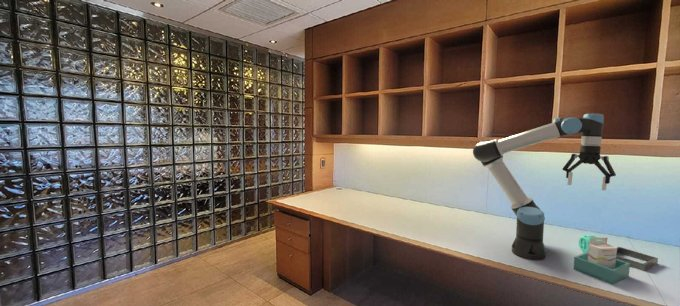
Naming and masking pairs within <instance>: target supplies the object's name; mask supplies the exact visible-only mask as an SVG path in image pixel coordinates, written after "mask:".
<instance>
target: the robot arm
mask: <svg viewBox="0 0 680 306" xmlns="http://www.w3.org/2000/svg"><path fill="white" fill-rule="evenodd" d="M604 117H605V116H604V114H602V113H585V114H583V117H574V116H571V117H570V116H569V117H555V118H553V121H552V123H547V124H544V125H541V126H539V127H536V128H531V129H529V130H526V131H524V132H520V133H517V134H514V135H510V136H508V137H505V138H501V139H496V138H495V139H491V140H489V139H485V140H481V141H479V142H478V143H476V144H475V146H473V148H472V149H473V150H472V154H473V156H474V158H475V159H476V160H477V161H479V162H480V163H481V165H482V166H483V167H485V168H488V170H489V171H490V173H491V175H492V176H493V178H494V179H495V181H496V182H497V184H498V185H499V187H500V188H501V189H502V191H503V192H504V193H503V194H505V196H506V198H507V199H508V201H509V203H511V206H510V209H511V210H512V212H513V213H514V215H515V216H516V229H515V238H514V241H513V243H512V245H511V252H512V253H513V254H515V255H516V256H518V257H521V258H523V259H527V260H535V261H541V260H545V259H546V258H547V256H548V255H547V250H546V246H545V244H544V230H545V227H544V226H545V218H546V217H545V213H544V211H543V210H541V208H540V207H539V206H538V205H537V204H536V203H535V200H533V198H530V197H528V196H527V195H526V193H525V192H524V190H523V189H522V188H521V186H520V184H519V183H518V182H517V180H516V179H515V176H513V174H512V172H511V171H510V169H509V168H508V167H507V165H506V164H505V162H504V160H503V159H504V156H503V155H504V154H507V153H510V152H512V151H517V150H520V149H523V148H528V147H529V146H530V147H531V146H533V145H534V146H535V145H536V144H540V143H544V142H547V141H551V140H553V139H558V138H561V137H564V136H567V135H574V134H581V139H580V148H579V154H577V153H572V154H571V156H570V158H569V159H568V161H567V162H566V163H565V165H564V166H563V167H562V168H561V169H562V171H564V172H566V174H565V177H566V179H567V186H572V183H573V172H572V171H574V170H575V169H576V168H578V167H579V166H580V165H582V164H587V165H594V166H596V167H597V168H598V170H599V171H600V172H601V173H602V174H603V175H604V176H603V177H602V183H601V191H606V190H607V185H608V184H610V182H611V177H616V176H617V174H616V172H615V170H614V168H613V166H612V165H611V162H610V158H609V155H604V156H602V155H601V148H602V147H601V146H600V145H602V139H603V130H604V119H605V118H604ZM577 158H578V159H579V160H577V162H574V161H575V159H577ZM600 160H601V161H603V163H604V165H605V167H604V166H603V165H602V164H601V162H600ZM573 163H574V164H573ZM572 164H573V165H572ZM571 165H572V166H571ZM606 169H607V170H606Z"/></svg>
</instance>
